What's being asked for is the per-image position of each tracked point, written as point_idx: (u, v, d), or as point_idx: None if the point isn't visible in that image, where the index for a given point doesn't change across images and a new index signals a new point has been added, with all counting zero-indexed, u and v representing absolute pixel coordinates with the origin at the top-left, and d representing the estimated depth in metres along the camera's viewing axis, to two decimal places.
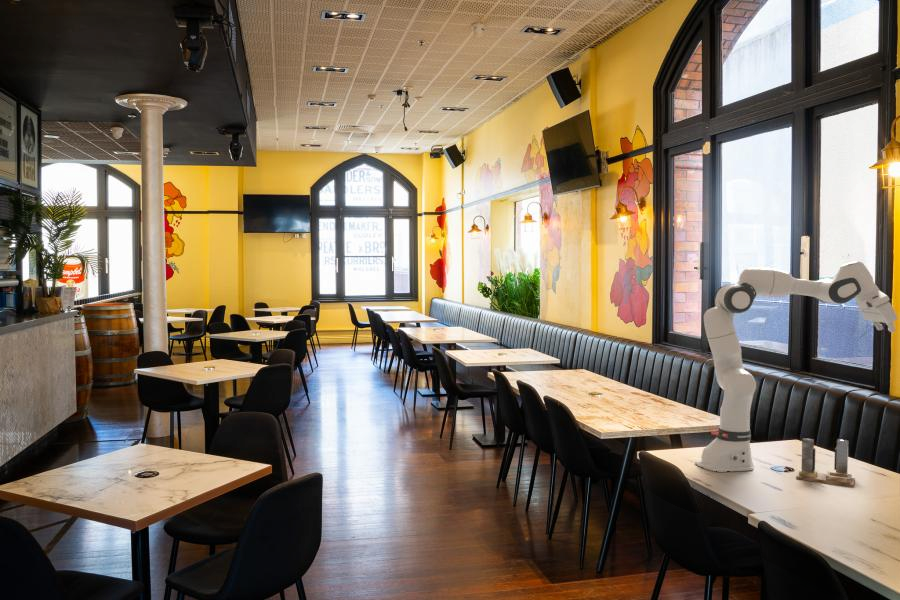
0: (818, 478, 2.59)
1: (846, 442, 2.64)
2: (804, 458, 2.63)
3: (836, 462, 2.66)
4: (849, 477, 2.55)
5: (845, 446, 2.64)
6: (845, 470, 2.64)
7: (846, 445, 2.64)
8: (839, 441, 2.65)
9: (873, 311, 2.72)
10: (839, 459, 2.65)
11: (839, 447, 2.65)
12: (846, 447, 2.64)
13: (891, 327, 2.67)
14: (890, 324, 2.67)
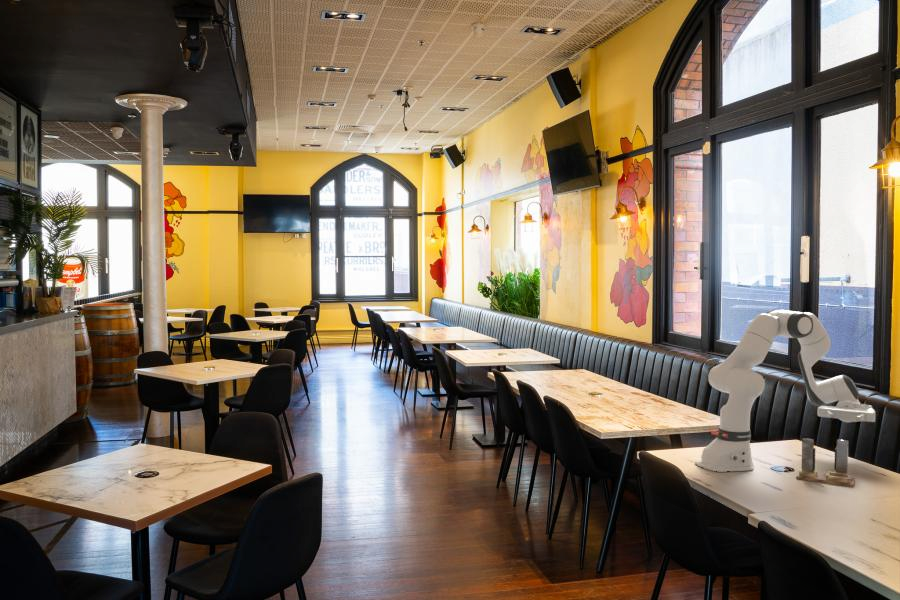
0: (818, 478, 2.59)
1: (846, 442, 2.64)
2: (804, 458, 2.63)
3: (836, 462, 2.66)
4: (849, 477, 2.55)
5: (845, 446, 2.64)
6: (845, 470, 2.64)
7: (846, 445, 2.64)
8: (839, 441, 2.65)
9: None
10: (839, 459, 2.65)
11: (839, 447, 2.65)
12: (846, 447, 2.64)
13: (861, 417, 2.74)
14: (864, 416, 2.75)
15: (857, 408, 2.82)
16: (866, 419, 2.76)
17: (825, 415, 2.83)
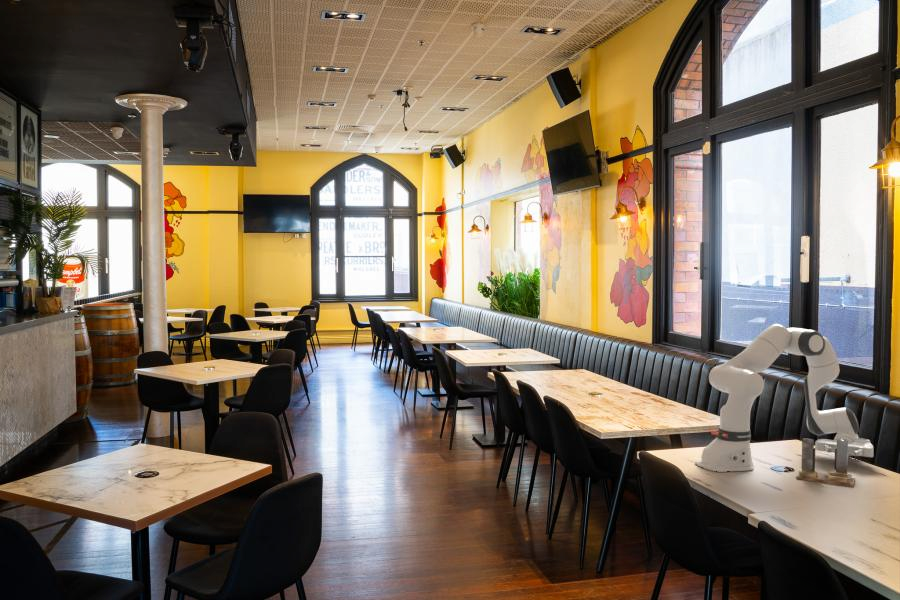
0: (818, 478, 2.59)
1: (846, 442, 2.64)
2: (804, 458, 2.63)
3: (836, 462, 2.66)
4: (849, 477, 2.55)
5: (845, 446, 2.64)
6: (845, 470, 2.64)
7: (846, 445, 2.64)
8: (839, 441, 2.65)
9: (849, 443, 2.80)
10: (839, 459, 2.65)
11: (839, 447, 2.65)
12: (846, 447, 2.64)
13: (859, 452, 2.72)
14: (862, 452, 2.73)
15: (855, 442, 2.80)
16: (864, 454, 2.74)
17: (823, 449, 2.81)
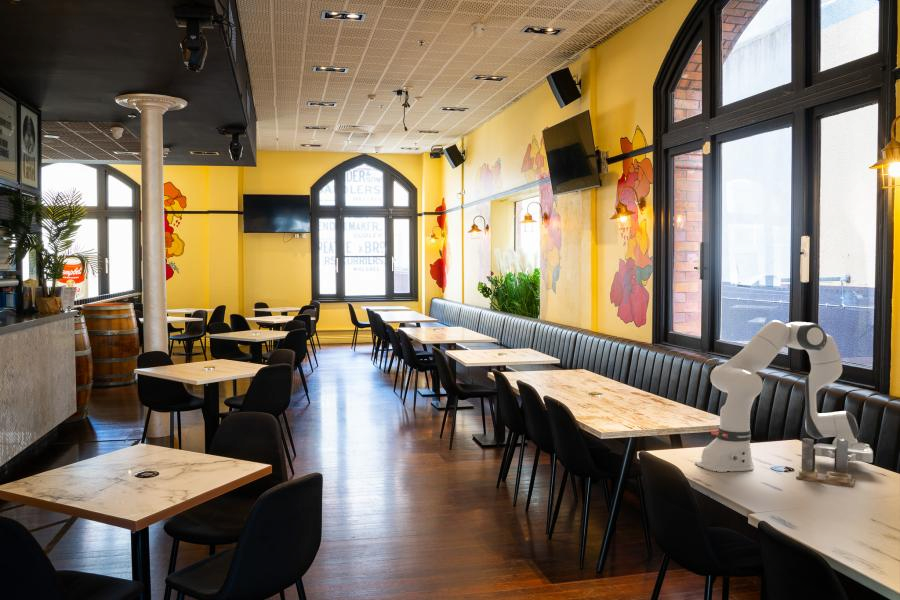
0: (818, 478, 2.59)
1: (846, 442, 2.64)
2: (804, 458, 2.63)
3: (836, 462, 2.66)
4: (849, 477, 2.55)
5: (845, 446, 2.64)
6: (845, 470, 2.64)
7: (846, 445, 2.64)
8: (839, 441, 2.65)
9: None
10: (839, 459, 2.65)
11: (839, 447, 2.65)
12: (846, 447, 2.64)
13: (852, 457, 2.65)
14: (855, 456, 2.66)
15: (854, 447, 2.72)
16: (863, 459, 2.65)
17: (821, 454, 2.73)
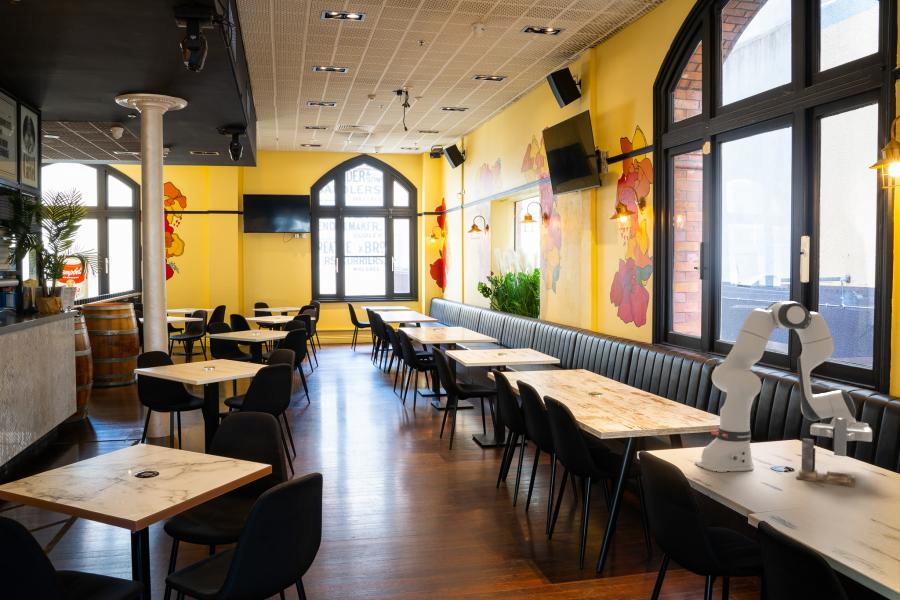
0: (818, 478, 2.59)
1: (845, 420, 2.56)
2: (804, 458, 2.63)
3: (834, 441, 2.58)
4: (849, 477, 2.55)
5: (843, 424, 2.56)
6: (843, 449, 2.56)
7: (845, 423, 2.56)
8: (837, 419, 2.57)
9: None
10: (837, 438, 2.57)
11: (837, 426, 2.57)
12: (845, 425, 2.56)
13: (851, 436, 2.57)
14: (854, 435, 2.58)
15: (853, 426, 2.64)
16: (862, 438, 2.57)
17: (818, 433, 2.65)
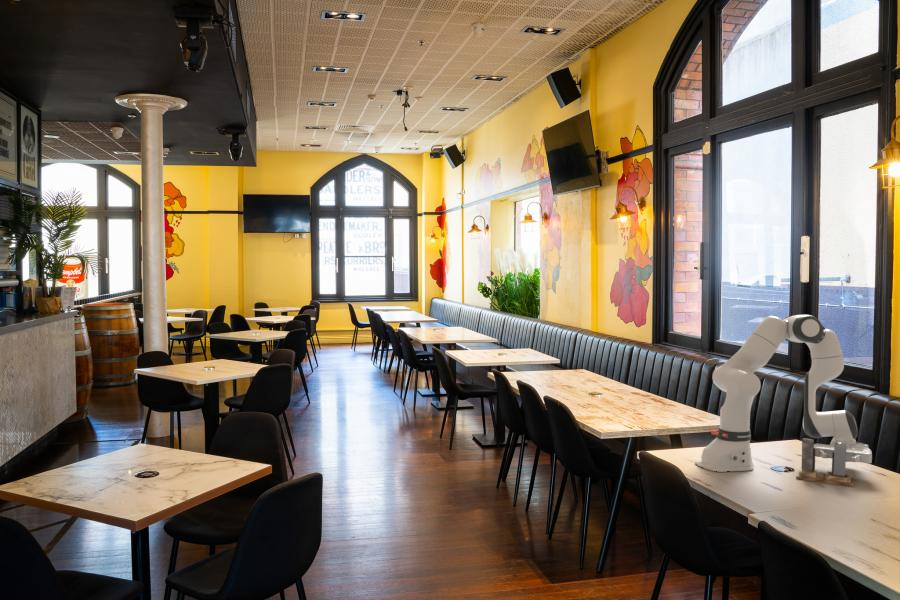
0: (818, 478, 2.59)
1: (844, 445, 2.56)
2: (804, 458, 2.63)
3: (834, 465, 2.57)
4: (849, 477, 2.55)
5: (843, 449, 2.56)
6: (842, 474, 2.56)
7: (844, 448, 2.55)
8: (837, 444, 2.57)
9: None
10: (836, 462, 2.57)
11: (837, 450, 2.57)
12: (844, 450, 2.55)
13: (857, 458, 2.56)
14: (859, 457, 2.56)
15: (852, 447, 2.64)
16: (862, 460, 2.57)
17: (818, 455, 2.65)
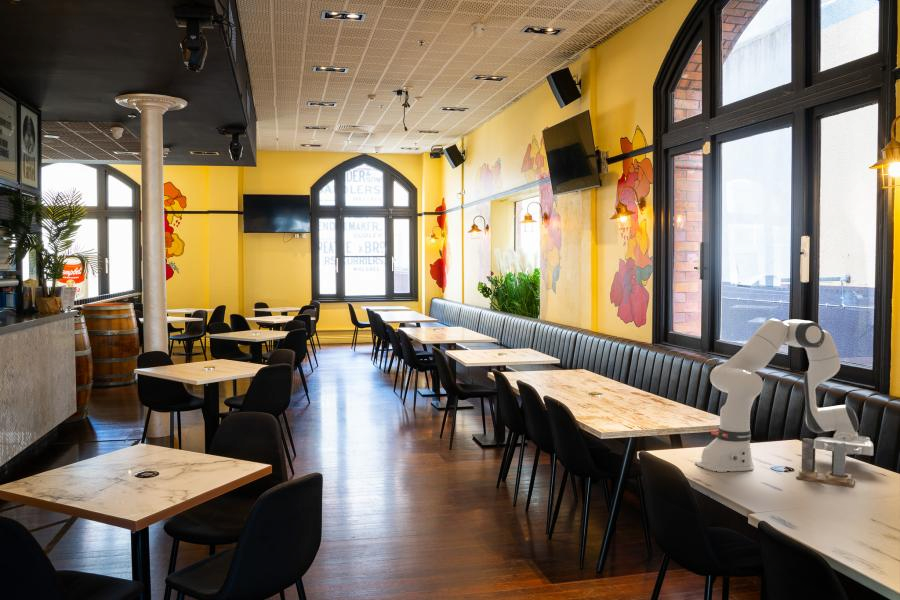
0: (818, 478, 2.59)
1: (844, 445, 2.56)
2: (804, 458, 2.63)
3: (833, 465, 2.58)
4: (849, 477, 2.55)
5: (842, 449, 2.56)
6: (842, 474, 2.56)
7: (844, 448, 2.55)
8: (836, 444, 2.57)
9: (848, 441, 2.75)
10: (836, 462, 2.57)
11: (836, 450, 2.57)
12: (844, 450, 2.55)
13: (859, 450, 2.66)
14: (861, 450, 2.67)
15: (855, 440, 2.74)
16: (864, 452, 2.68)
17: (822, 447, 2.76)
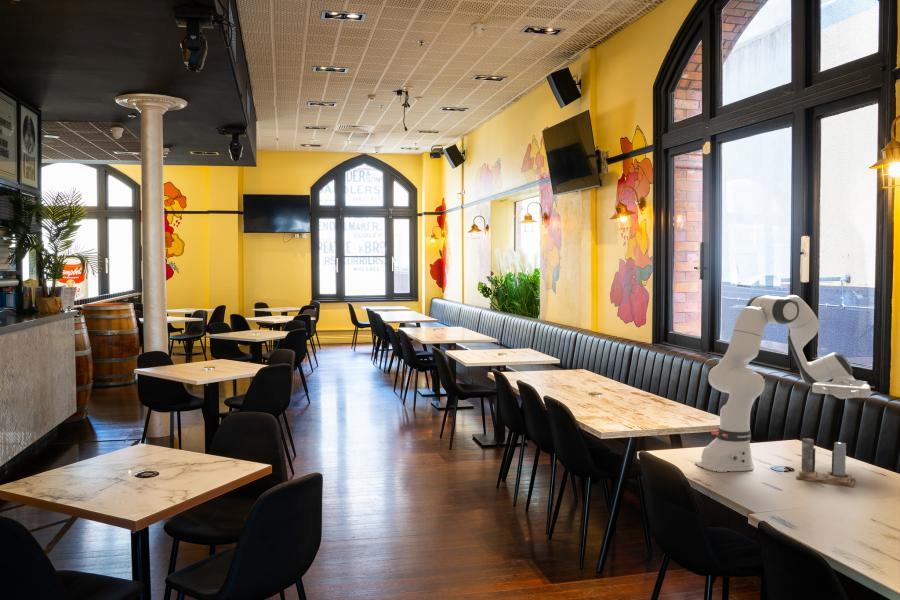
0: (818, 478, 2.59)
1: (844, 445, 2.56)
2: (804, 458, 2.63)
3: (833, 465, 2.58)
4: (849, 477, 2.55)
5: (842, 449, 2.56)
6: (842, 474, 2.56)
7: (844, 448, 2.55)
8: (836, 444, 2.57)
9: (846, 385, 2.80)
10: (836, 462, 2.57)
11: (836, 450, 2.57)
12: (844, 450, 2.55)
13: (856, 392, 2.72)
14: (859, 392, 2.73)
15: (852, 384, 2.80)
16: (861, 394, 2.74)
17: (820, 391, 2.81)
